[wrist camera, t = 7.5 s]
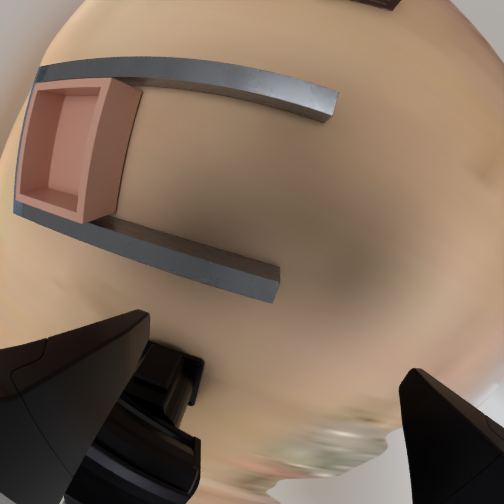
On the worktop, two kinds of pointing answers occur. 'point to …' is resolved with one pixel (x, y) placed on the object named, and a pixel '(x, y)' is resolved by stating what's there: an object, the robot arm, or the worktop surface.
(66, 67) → the crate bay
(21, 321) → the worktop surface
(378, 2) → the box
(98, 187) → the crate
